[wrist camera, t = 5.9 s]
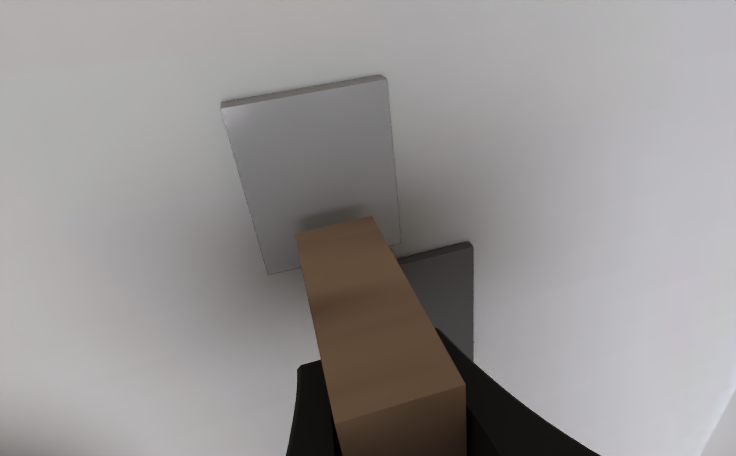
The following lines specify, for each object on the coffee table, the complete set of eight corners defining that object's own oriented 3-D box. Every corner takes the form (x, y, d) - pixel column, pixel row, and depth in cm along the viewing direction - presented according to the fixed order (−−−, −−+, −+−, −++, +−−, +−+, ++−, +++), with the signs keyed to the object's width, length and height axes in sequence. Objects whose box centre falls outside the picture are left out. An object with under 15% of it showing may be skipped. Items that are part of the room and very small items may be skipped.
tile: (401, 242, 17) (387, 79, 14) (268, 275, 16) (220, 108, 13) (391, 227, 18) (376, 71, 15) (265, 257, 17) (221, 98, 14)
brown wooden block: (387, 330, 17) (468, 522, 11) (322, 348, 16) (368, 557, 10) (371, 215, 14) (465, 384, 8) (294, 233, 14) (334, 423, 8)
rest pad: (469, 360, 22) (473, 366, 22) (392, 383, 21) (394, 389, 21) (468, 241, 18) (473, 246, 18) (375, 265, 18) (378, 270, 17)
